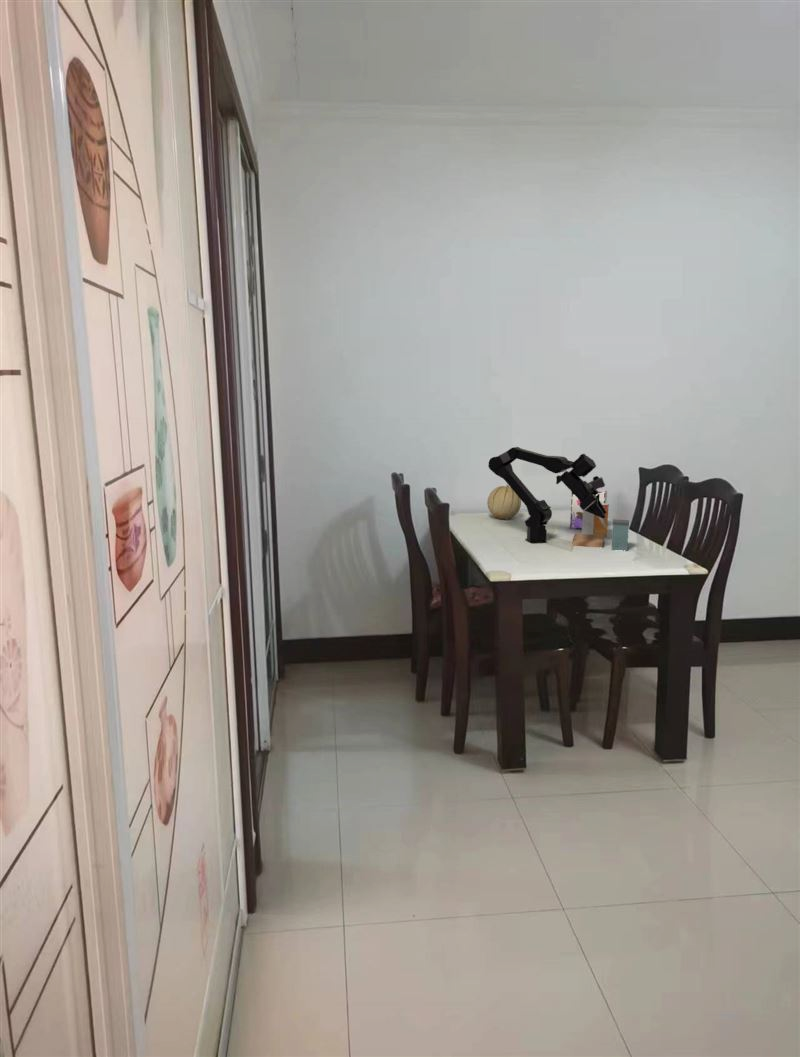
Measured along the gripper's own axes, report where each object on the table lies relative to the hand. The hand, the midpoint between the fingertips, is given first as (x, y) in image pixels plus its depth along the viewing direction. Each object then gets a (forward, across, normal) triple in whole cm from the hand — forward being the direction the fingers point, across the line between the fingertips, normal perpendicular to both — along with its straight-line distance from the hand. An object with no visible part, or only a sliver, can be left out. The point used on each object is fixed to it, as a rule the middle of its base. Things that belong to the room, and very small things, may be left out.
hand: (605, 515), depth 292 cm
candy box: (+3, +36, +15) cm, 39 cm away
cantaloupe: (-23, +48, +41) cm, 67 cm away
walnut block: (+5, +6, +13) cm, 15 cm away
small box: (+6, +22, +12) cm, 26 cm away
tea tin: (+13, 0, +5) cm, 14 cm away
